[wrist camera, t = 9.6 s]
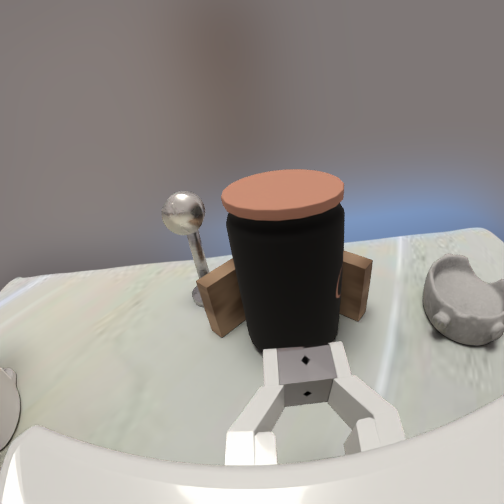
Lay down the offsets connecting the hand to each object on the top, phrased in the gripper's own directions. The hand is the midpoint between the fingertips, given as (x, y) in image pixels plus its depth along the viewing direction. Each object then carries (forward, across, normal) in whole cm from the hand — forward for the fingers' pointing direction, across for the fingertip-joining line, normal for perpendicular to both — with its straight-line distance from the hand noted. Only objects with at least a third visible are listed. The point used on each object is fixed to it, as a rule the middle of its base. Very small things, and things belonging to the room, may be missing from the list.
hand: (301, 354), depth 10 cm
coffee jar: (+16, -2, +17) cm, 24 cm away
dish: (+14, -25, +16) cm, 33 cm away
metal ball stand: (+25, +10, +17) cm, 32 cm away
